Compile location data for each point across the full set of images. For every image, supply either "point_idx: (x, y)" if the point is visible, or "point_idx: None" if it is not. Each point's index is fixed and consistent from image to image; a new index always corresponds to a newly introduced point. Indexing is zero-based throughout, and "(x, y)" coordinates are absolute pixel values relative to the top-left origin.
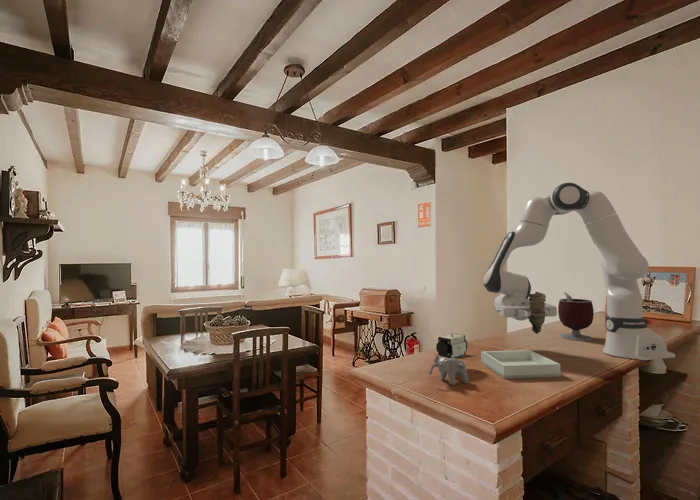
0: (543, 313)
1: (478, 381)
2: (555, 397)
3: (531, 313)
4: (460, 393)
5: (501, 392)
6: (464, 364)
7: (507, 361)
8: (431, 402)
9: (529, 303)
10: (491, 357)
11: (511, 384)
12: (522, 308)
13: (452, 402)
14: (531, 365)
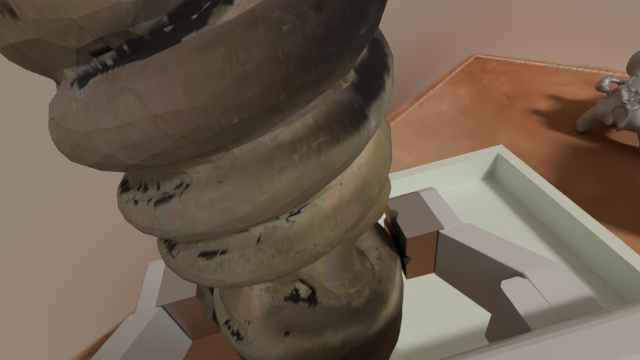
0: (205, 304)
1: (557, 148)
2: None
3: (367, 257)
4: (563, 96)
5: (483, 115)
6: (601, 80)
7: None
8: (592, 66)
9: (387, 132)
10: (580, 212)
11: (468, 150)
12: (519, 335)
13: (557, 73)
14: (416, 167)
